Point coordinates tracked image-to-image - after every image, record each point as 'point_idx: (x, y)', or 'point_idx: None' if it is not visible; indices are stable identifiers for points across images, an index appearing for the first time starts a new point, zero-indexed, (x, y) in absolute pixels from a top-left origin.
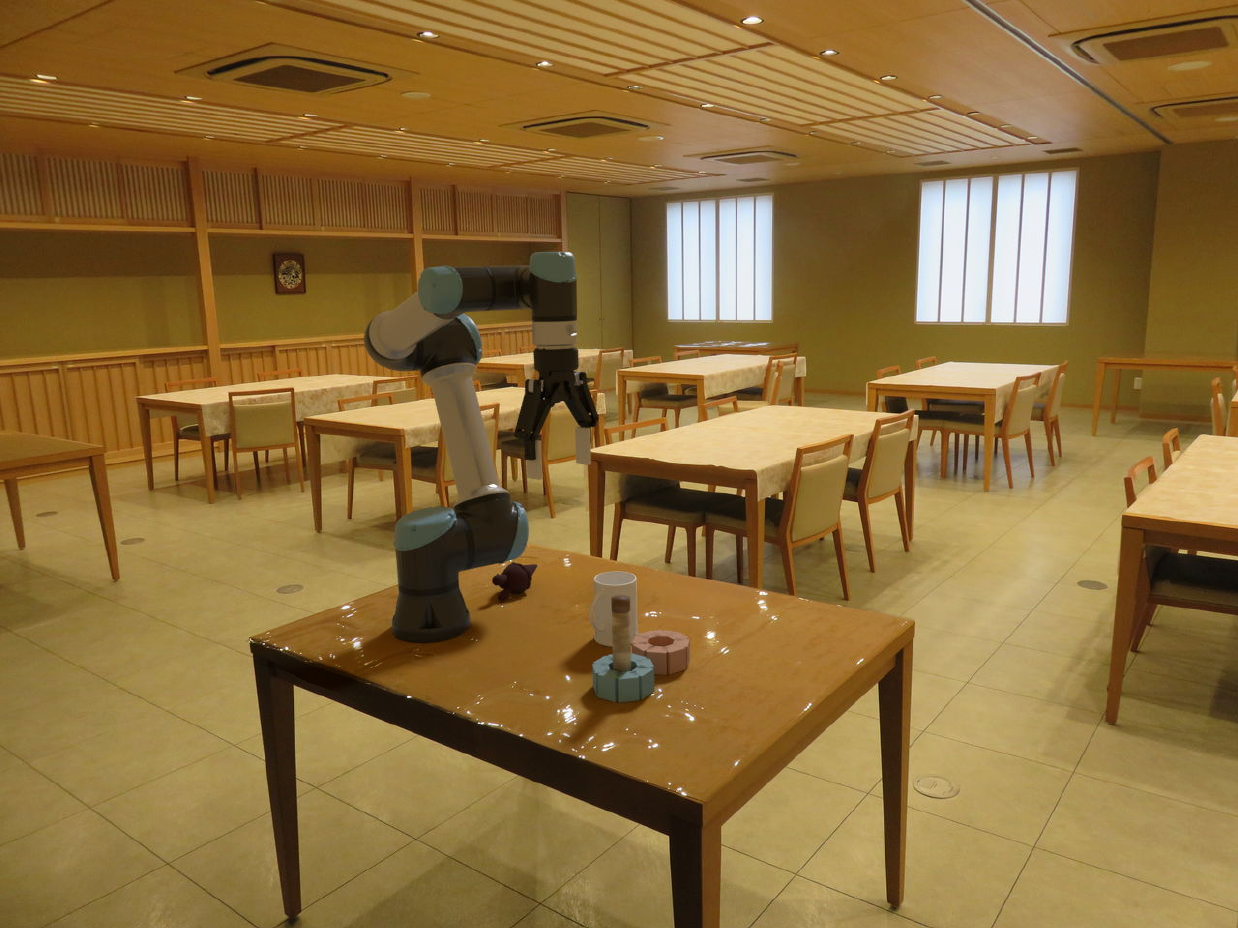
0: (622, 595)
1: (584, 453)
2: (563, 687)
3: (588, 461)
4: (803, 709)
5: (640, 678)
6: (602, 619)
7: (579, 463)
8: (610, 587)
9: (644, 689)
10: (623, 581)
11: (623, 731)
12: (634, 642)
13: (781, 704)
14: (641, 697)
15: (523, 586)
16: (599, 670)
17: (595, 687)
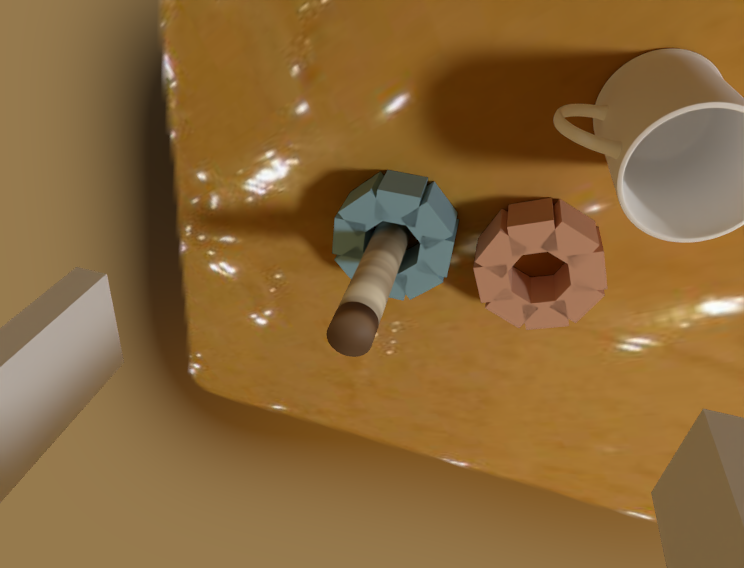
0: (366, 337)
1: (688, 553)
2: (352, 117)
3: (656, 516)
4: (443, 458)
5: None
6: (608, 120)
7: (688, 435)
8: (615, 186)
9: None
10: None
11: (269, 273)
12: (512, 230)
13: (446, 436)
14: None
15: None
16: (351, 214)
17: (350, 195)
